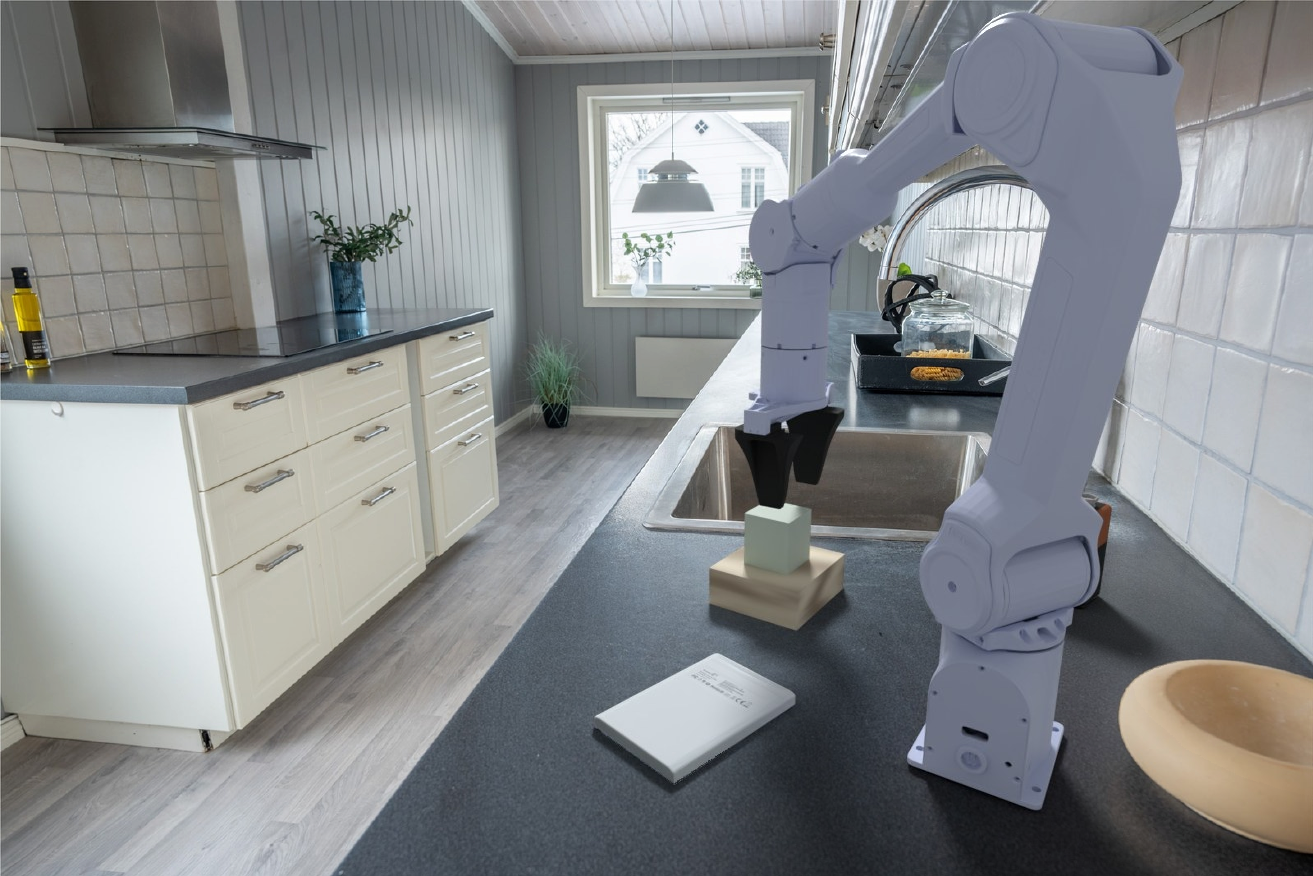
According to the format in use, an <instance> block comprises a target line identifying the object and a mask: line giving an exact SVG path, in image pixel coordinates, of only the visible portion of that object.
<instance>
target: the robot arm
mask: <svg viewBox="0 0 1313 876" xmlns="http://www.w3.org/2000/svg"><path fill="white" fill-rule="evenodd" d="M1184 77H1185V69H1184V67H1182V65H1181V64H1180V63H1179V62H1178V61H1177V60H1176V59H1175V57H1174V56H1173V55H1172V54H1171V52H1170V51H1169V50H1168V49H1167V48H1166V47H1165V45H1164V44H1163V43H1162V42H1161V41H1160V40H1159V39H1158V38H1157V37H1156V36H1155V35H1154V34H1153V33H1152V32H1150V31H1148V30H1147V29H1144V28H1141V27H1137V26H1130V25H1123V26H1118V27H1117V26H1116V27H1112V26H1107V25H1097V24H1091V23H1085V22H1084V23H1083V22H1077V21H1068V20H1062V19H1054V18H1047V17H1041V16H1040V15H1039V14H1036V13H1030V12H1028V11H1021V10H1020V11H1018V10H1017V11H1010V12H1006V13H1003V14H1000V15H999V16H997V17H995V18H993V19H992V20H991V21H989V22H988V23H986V24H985V25H984V26H983V27H982V28H981V29H980V30H979V31H978V32H977V33H976V34H975V36H974V37H973V38H972V40H971V41H967V43H965V44H963V45H961V47H959V48H957V49H956V50H954V51H953V52H952V54H951V55H950V57H949V60H948V63H947V66H946V71H945V74H944V79H943V80H942V82H940V83H939V84H938V85H937V86H936V87H935V88H934V89H933V90H932V91H931V92H930V93H929V94H928V95H926V97H925V98H924V99H923V100H922V101H921V102H920V103H918V105H916V106H915V107H914V108H913V109H912V110H911V111H910V112H909V113H908V114H907V115H906V116H905V117H904V118H903V119H901V121H900V122H899V123H898V124H897V125H895V126H894V127H893V129H892V130H891V131H889V132H888V133H887V134H886V135H885V136H883V138H882V139H881V140H880V141H879V142H878V143H876V144H875V146H873V148H871V149H870V150H868V149H865V148H851V149H839V150H837V151H836V152H835V153H833V154H832V155H831V156H830V158H829V159H830V164H828V165H827V166H826V167H825V168H824V169H823V170H821V171H820V172H819V173H818V174H816V175H815V176H814V177H813V178H811V180H809V181H808V182H804V183H802V184H801V185H800V186H799V187H798V188H797V191H796V193H794V194H793V195H792V196H790V197H789V199H783V200H781V199H779V198H778V199H776V198H766V199H764V200H762V201H761V203H760V205H759V206H758V207H757V208H756V210H755V211H754V212H753V215H752V217H751V221H750V224H749V229H748V246H749V253H750V256H751V260H752V262H753V263H754V265H755V267H757V269H758V270H759V271H761V313H760V314H761V315H760V316H761V319H760V322H761V323H760V324H761V325H760V373H759V375H760V379H759V380H760V381H759V382H760V384H759V389H754V390H751V391H749V392H748V400H750V401H753V403H752V404H751V405H750V406H749V407H748V408H746V409H744V410H743V423H741V424H740V425H737V426H736V427H734V439H735V440H736V442H737V444H738V445H739V447H740V449H741V450H742V452H743V454H744V455H743V456H744V457H745V459H746V462H747V464H748V467H749V469H750V473H751V476H752V477H751V478H752V480H753V485H754V488H755V493H756V498H757V501H758V505H760V506H765V507H770V508H775V509H781V508H783V507H784V504H785V502H786V500H787V497H788V489H789V482H790V473H791V469H792V466H793V469H792V470H793V474H794V475H793V476H794V479H795V482H796V483H800V484H801V483H802V484H807V485H812V486H817V485H818V484H819V483H820V479H821V477H822V474H823V472H824V471H823V470H824V467H825V463H826V459H827V455H828V452H829V448H830V446H831V443H832V440H833V438H834V436H835V434H836V431H837V429H838V428H839V426H840V424H841V422H842V421H843V420H844V418H845V409H844V408H842V407H838V406H829V405H831V404H833V403H834V402H835V385H836V384H835V382H830V381H827V373H828V346H829V344H828V343H829V342H828V341H829V325H830V323H829V319H830V297H831V296H830V295H831V294H830V293H831V291H833V290H834V289H835V285H836V284H837V281H838V280H837V279H838V278H837V277H838V270H839V266H840V264H841V262H842V260H843V258H844V256H845V254H846V250H847V247H848V245H849V244H851V243H852V242H853V241H854V242H855V241H856V239H858V238H860V237H861V236H863V235H865V234H866V233H867V232H868V231H870V230H872V229H874V228H875V227H876V226H878V225H879V224H880V223H882V222H884V221H885V220H887V219H888V218H889V217H890V216H891V215H892V214H893V213H894V211H895V210H896V208H897V205H898V201H899V192H900V191H902V190H903V189H905V188H907V187H908V186H910V185H911V184H913V183H915V182H917V181H918V180H921V178H923V177H925V176H926V175H929V174H930V173H932V172H934V171H936V169H939V168H940V167H942V166H943V165H945V164H946V163H948V162H950V161H952V160H953V159H955V158H956V157H958V156H960V155H962V154H963V153H964V152H967V151H968V150H970V149H972V148H974V147H976V146H977V145H978V146H979V147H980V148H982V149H983V150H985V151H986V152H987V153H989V154H990V155H991V156H993V157H994V158H995V159H997V160H998V161H999V162H1001V163H1002V164H1004V165H1005V166H1007V167H1008V168H1009V169H1010V170H1012V171H1014V172H1015V173H1016V174H1017V175H1019V176H1020V177H1022V178H1023V179H1024V180H1026V182H1027V183H1028V185H1030V187H1031V189H1032V190H1033V192H1034V193H1035V194H1036V196H1037V197H1038V198H1039V200H1040V202H1041V203H1042V204H1043V205H1044V207H1045V208H1046V210H1047V212H1048V215H1049V219H1048V224H1047V228H1046V232H1045V234H1044V239H1043V242H1042V246H1041V250H1040V253H1039V254H1040V255H1039V258H1038V262H1037V265H1036V269H1035V274H1034V277H1033V279H1032V280H1033V281H1032V283H1031V284H1032V285H1031V288H1030V292H1029V296H1028V300H1027V303H1026V307H1025V311H1024V315H1023V318H1022V322H1021V326H1020V330H1019V333H1018V337H1017V340H1016V346H1015V349H1014V352H1013V356H1012V360H1011V365H1010V368H1009V372H1008V375H1007V378H1006V382H1005V383H1006V384H1005V386H1004V387H1005V388H1004V391H1003V394H1002V398H1001V402H1000V406H999V409H998V413H997V418H996V421H995V424H994V425H995V426H994V428H993V433H992V437H991V440H990V444H989V447H988V452H987V456H986V458H985V463H984V466H983V471H982V474H981V475H980V477H979V478H978V479H977V480H976V481H975V482H974V483H973V484H972V485H971V486H970V487H968V488H967V489H966V490H965V491H964V492H963V493H962V494H960V496H959V497H957V498H956V499H955V501H953V503H951V504H950V506H948V507H947V508H946V510H945V511H944V514H943V519H942V523H941V524H940V525H941V526H940V528H939V530H938V532H937V534H936V535H935V536H934V537H933V538H932V539H931V540H930V541H929V542H928V543H927V545H925V547H924V549H923V551H922V554H921V555H920V562H919V569H918V570H919V571H918V573H919V581H920V582H919V583H920V587H921V591H922V594H923V598H924V600H925V602H926V604H927V606H928V607H929V610H930V611H931V612H932V614H933V615H934V620H935V621H936V623H939V624H941V625H942V626H941V635H940V637H941V638H940V647H939V657H938V658H939V659H938V666H937V668H936V669H935V671H934V673H933V675H932V677H931V680H930V683H929V686H928V691H927V703H926V704H927V705H926V716H925V723H924V725H923V727H922V728H921V731H920V732H919V733H918V736H917V737H916V739H915V740H914V743H913V744H912V746H911V748H910V750H909V751H908V753H907V756H906V757H907V758H906V761H907V763H908V764H909V765H911V766H912V767H915V768H917V769H921V770H924V771H926V772H929V773H932V774H934V775H937V776H939V777H942V778H945V779H948V780H950V781H952V782H956V783H957V784H958V783H959V784H961V785H963V786H967V787H969V788H972V789H975V790H978V791H980V792H984V793H986V794H989V795H992V796H995V797H997V798H999V799H1003V800H1005V801H1007V802H1011V803H1014V804H1016V805H1019V806H1022V807H1025V808H1027V809H1030V810H1033V811H1039V810H1041V809H1042V807H1043V804H1044V801H1045V798H1046V794H1047V791H1048V787H1049V784H1050V782H1051V781H1050V780H1051V777H1052V774H1053V770H1054V766H1055V763H1056V759H1057V756H1058V752H1059V750H1060V746H1061V743H1062V739H1063V735H1064V732H1065V727H1064V725H1063V724H1062V723H1060V722H1058V721H1055V714H1056V705H1057V697H1058V691H1059V690H1058V689H1059V683H1060V674H1061V669H1062V660H1063V654H1064V653H1063V652H1064V646H1065V638H1066V637H1065V636H1066V630H1067V627H1069V626H1071V625H1072V623H1073V617H1074V616H1073V615H1074V610H1075V609H1074V608H1075V606H1078V605H1080V604H1082V603H1084V602H1086V601H1087V600H1088V599H1089V598H1090V597H1091V596H1092V595H1093V593H1094V592H1095V590H1096V588H1097V585H1098V583H1099V577H1100V564H1099V558H1098V551H1097V543H1098V536H1099V533H1100V530H1101V527H1102V524H1103V519H1102V517H1101V516H1100V515H1099V514H1098V512H1097V511H1096V510H1095V509H1094V508H1093V507H1092V506H1091V505H1090V504H1089V503H1088V502H1087V501H1086V500H1085V499H1084V498H1083V497H1082V493H1084V491H1085V487H1086V484H1087V481H1088V477H1089V474H1090V471H1091V468H1092V465H1093V464H1094V463H1093V462H1094V459H1095V456H1096V452H1097V450H1098V447H1099V444H1100V442H1101V441H1100V440H1101V438H1102V436H1103V432H1104V429H1105V426H1106V422H1107V420H1108V417H1109V413H1110V411H1111V408H1112V404H1113V402H1114V399H1115V395H1116V392H1117V390H1118V389H1117V388H1118V385H1119V383H1120V380H1121V377H1122V374H1123V371H1124V367H1125V364H1126V361H1127V358H1128V355H1129V352H1130V349H1131V347H1132V343H1133V341H1134V340H1133V339H1134V338H1135V334H1136V331H1137V328H1138V326H1139V321H1140V319H1141V315H1142V312H1143V309H1144V307H1145V303H1146V301H1147V297H1148V295H1149V292H1150V288H1151V285H1152V283H1153V279H1154V276H1155V273H1156V270H1157V267H1158V264H1159V261H1160V258H1161V255H1162V252H1163V248H1164V246H1165V243H1166V240H1167V236H1168V234H1169V231H1170V227H1171V224H1172V222H1173V218H1174V216H1175V212H1176V208H1177V206H1178V204H1179V203H1178V202H1179V200H1180V196H1181V190H1182V184H1183V174H1182V173H1183V172H1182V171H1183V170H1182V164H1181V157H1180V148H1179V141H1178V133H1177V127H1176V119H1175V118H1176V117H1175V110H1174V108H1175V107H1176V102H1177V98H1178V96H1179V92H1180V89H1181V86H1182V83H1183V79H1184ZM784 422H785V423H786V427H787V430H788V432H787V431H786V428H782V427H783V426H782V425H783V424H782V423H784Z"/></svg>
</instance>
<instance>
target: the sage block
mask: <svg viewBox="0 0 1313 876" xmlns="http://www.w3.org/2000/svg"><path fill="white" fill-rule="evenodd" d="M811 527H812V508H809V507H805V506H801V505H800V506H799V505H795V504H791V503H785V504H784V507H783V508H781V509H775V508H770V507H765V506H760V505H759V504H758V505H757V506H755V507H753V508H751V509H749V510H747V511H746V512H745V513H744V531H743V532H744V533H743V534H744V537H743V539H744V541H743V546H744V564H748V565H751V566H755V567H758V568H762V569H766V570H769V571H773V572H776V573H780V574H784V575H788V574H790V573H791V572H792V571H794V570H795V569H796V568H798V567H799V566H800V565H802V564H803V563H804V562H806V561H807V560H808V559H810V546H811V530H812V528H811Z"/></svg>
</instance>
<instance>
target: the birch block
mask: <svg viewBox="0 0 1313 876" xmlns="http://www.w3.org/2000/svg"><path fill="white" fill-rule="evenodd" d="M845 559H846V554H845V553H843V552H839V551H834V550H830V549H826V548H823V547H819V546H818V547H817V546H813V545H810V559H808V560H807V561H806V562H804V563H803V564H802V565H800V566H799V567H798V568H796V569H795V570H794V571H792V572H791V573H790V574H788V575H784V574H780V573H776V572H773V571H769V570H766V569H762V568H758V567H755V566H751V565H748V564H744V545H742V546H741V547H739V548H738V549H736V550H735V551H733V552H731V553H730V554H729V555H727V556H725V557H724V558H723V559H721V560H719V561H718V562H716V563H714V564H713V565H712V566H710V567H709V570H708V572H709V573H708V574H709V575H708V581H709V583H708V584H709V585H708V589H709V590H708V591H709V592H708V593H709V595H708V596H709V597H708V600H709V601H708V604H709V605H714V606H716V607H719V608H723V609H725V610H729V611H733V612H736V613H738V614H742V615H746V616H748V617H751V618H754V619H755V618H756V619H758V620H761V621H764V622H768V623H772V624H773V625H777V626H781V627H783V628H787V629H790V630H793V631H796V632H797V631H798V630H799V629H800V628H801V627H802V626H803V625H804V624H806V623H807V622H808V621H809V620H810V619H811V618H812V617H814V616H815V614H817V613H818V612H819V611H820V610H821V609H822V608H823V607H825V605H827V604H828V603H829V602H830V601H831V600H832V599H833V598H835V597H836V595H838V594H839V593H840V592H841V591H842V590H843V589H844V580H845V579H844V578H845Z"/></svg>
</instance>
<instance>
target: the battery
mask: <svg viewBox="0 0 1313 876" xmlns="http://www.w3.org/2000/svg"><path fill="white" fill-rule="evenodd" d="M1082 497H1083V498H1084V499H1085V500H1086V501H1087V502H1088V503H1089V504H1090V505H1091V506H1092V507H1093V508H1094V509H1095V510H1096V511H1097V512H1098V514H1099V515H1100V516H1101V517H1102V519H1103V524H1102V527H1101V530H1100V533H1099V536H1098V543H1097V551H1098V558H1099V564H1100V577H1099V583H1098V585H1097V588H1096V590H1095V592H1094V593H1093V595H1092V596H1091V597H1090V598H1089V599H1088V600H1087V601H1086V602H1084V603H1082V604H1080V605H1078V606H1075V607H1076V608H1079V609H1082V608H1085V607H1086V606H1087V605H1088V604H1089V603H1090V602H1092V601H1093V600H1094V599H1095V598H1096V597H1097V596H1099V595H1100V593H1101V587H1102V580H1103V574H1104V567H1105V560H1106V559H1105V558H1106V552H1107V546H1108V540H1109V539H1108V538H1109V534H1110V533H1109V531H1110V525H1111V519H1112V513H1113V512H1112V511H1113V508H1112V506H1111V504H1108V503H1104V502H1102V501H1099V499H1100V497H1099V496H1097V495H1094V494H1092V493H1089V492H1083V493H1082ZM1075 607H1074V608H1075Z"/></svg>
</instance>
